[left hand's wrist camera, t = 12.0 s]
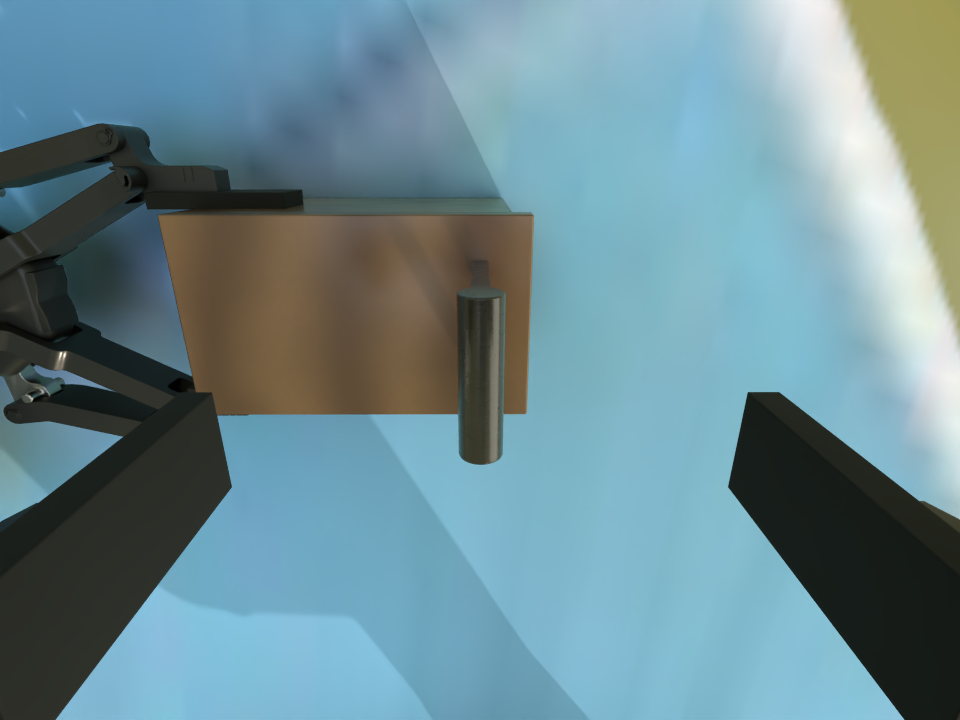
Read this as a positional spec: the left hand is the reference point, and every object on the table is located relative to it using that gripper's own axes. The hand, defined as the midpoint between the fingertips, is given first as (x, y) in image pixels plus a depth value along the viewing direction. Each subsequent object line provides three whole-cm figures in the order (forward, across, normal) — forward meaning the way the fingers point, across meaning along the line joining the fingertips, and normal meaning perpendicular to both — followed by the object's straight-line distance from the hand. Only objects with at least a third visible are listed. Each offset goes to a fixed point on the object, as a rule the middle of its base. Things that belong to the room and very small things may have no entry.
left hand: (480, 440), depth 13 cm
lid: (+12, -6, 0) cm, 13 cm away
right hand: (+15, -9, 0) cm, 18 cm away
